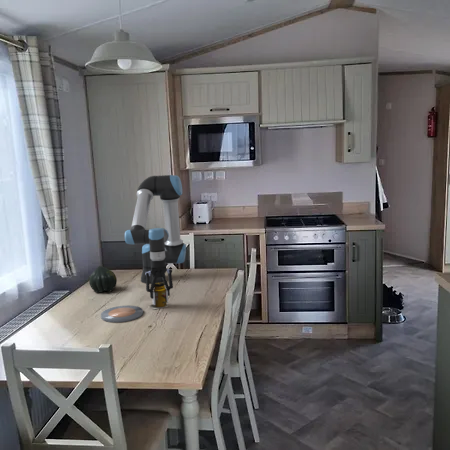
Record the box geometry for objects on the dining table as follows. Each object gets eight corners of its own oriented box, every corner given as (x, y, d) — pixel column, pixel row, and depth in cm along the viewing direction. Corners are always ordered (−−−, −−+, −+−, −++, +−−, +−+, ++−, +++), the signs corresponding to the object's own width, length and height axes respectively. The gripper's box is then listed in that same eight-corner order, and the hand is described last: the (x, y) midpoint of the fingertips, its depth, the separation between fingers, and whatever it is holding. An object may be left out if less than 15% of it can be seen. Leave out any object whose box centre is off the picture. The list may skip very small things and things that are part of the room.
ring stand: (98, 311, 226) (98, 309, 226) (138, 305, 234) (138, 302, 233) (104, 325, 208) (103, 322, 208) (147, 318, 215) (146, 315, 215)
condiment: (169, 306, 231) (168, 283, 229) (153, 309, 226) (152, 286, 224) (163, 302, 237) (162, 280, 235) (148, 305, 232) (147, 283, 231)
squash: (111, 286, 250) (113, 262, 258) (84, 287, 250) (87, 263, 258) (117, 296, 262) (120, 273, 270) (92, 298, 262) (95, 274, 270)
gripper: (140, 263, 221) (143, 308, 225) (178, 258, 228) (180, 302, 232) (137, 259, 228) (140, 304, 231) (174, 255, 235) (176, 298, 238)
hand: (160, 303), depth 231 cm, fingers closed on condiment, 6 cm apart
